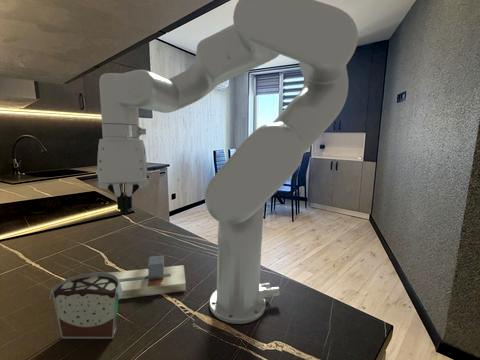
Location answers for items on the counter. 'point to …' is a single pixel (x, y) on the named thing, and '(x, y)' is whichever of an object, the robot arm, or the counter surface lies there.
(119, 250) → the counter surface
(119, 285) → the food container
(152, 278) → the fader tab
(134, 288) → the fader console
